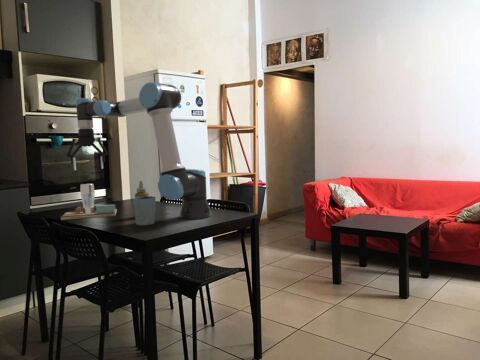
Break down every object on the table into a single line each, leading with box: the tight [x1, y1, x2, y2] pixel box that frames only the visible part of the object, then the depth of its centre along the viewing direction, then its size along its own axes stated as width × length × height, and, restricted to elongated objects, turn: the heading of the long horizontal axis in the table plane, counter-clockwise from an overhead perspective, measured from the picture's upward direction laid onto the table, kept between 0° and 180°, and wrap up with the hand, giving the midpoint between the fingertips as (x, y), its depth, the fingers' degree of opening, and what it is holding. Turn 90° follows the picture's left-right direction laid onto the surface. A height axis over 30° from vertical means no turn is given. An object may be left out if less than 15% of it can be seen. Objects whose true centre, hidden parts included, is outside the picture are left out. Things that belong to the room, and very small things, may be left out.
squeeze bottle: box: [134, 180, 149, 198], centre depth 210 cm, size 8×8×18 cm
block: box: [95, 204, 116, 214], centre depth 218 cm, size 2×9×4 cm, turn 103°
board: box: [60, 205, 118, 221], centre depth 222 cm, size 17×26×4 cm, turn 103°
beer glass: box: [80, 183, 96, 213], centre depth 223 cm, size 7×7×15 cm
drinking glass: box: [132, 195, 156, 226], centre depth 193 cm, size 10×10×12 cm
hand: (88, 169), depth 222 cm, fingers open, 13 cm apart
